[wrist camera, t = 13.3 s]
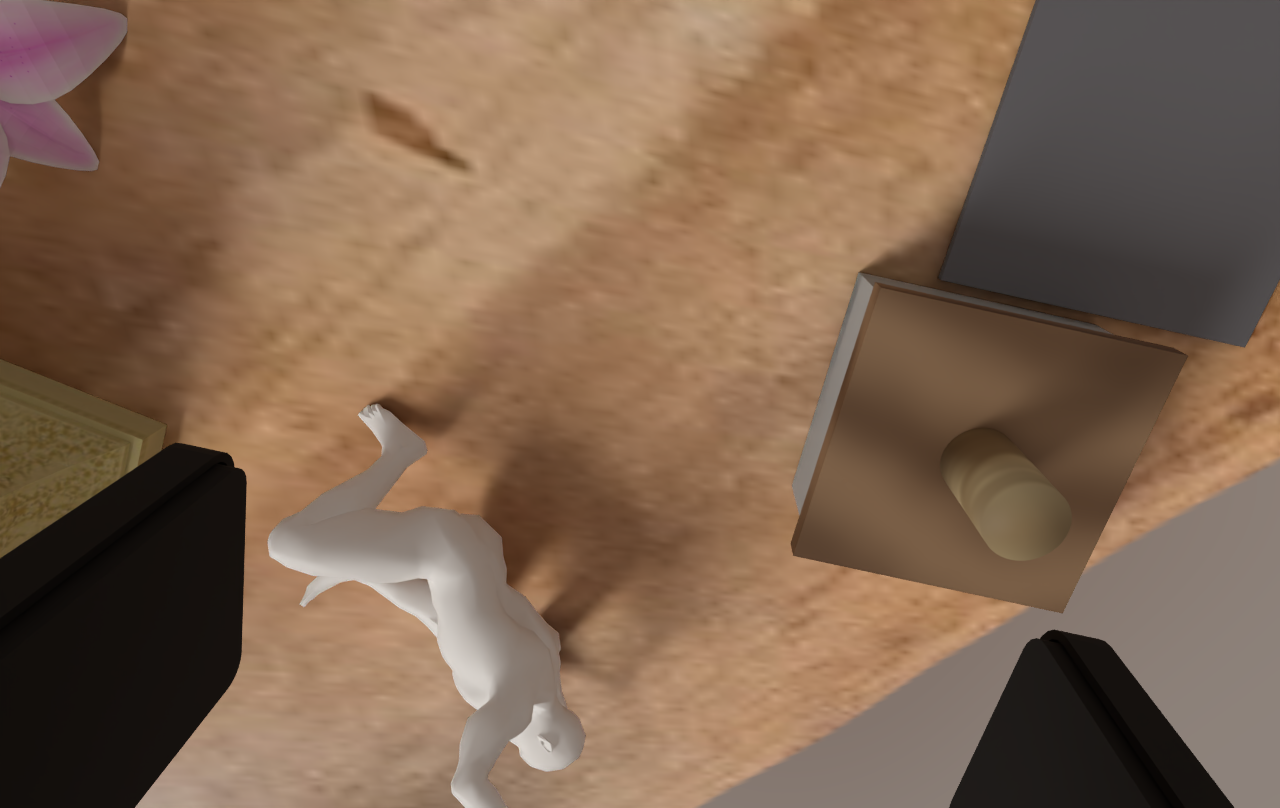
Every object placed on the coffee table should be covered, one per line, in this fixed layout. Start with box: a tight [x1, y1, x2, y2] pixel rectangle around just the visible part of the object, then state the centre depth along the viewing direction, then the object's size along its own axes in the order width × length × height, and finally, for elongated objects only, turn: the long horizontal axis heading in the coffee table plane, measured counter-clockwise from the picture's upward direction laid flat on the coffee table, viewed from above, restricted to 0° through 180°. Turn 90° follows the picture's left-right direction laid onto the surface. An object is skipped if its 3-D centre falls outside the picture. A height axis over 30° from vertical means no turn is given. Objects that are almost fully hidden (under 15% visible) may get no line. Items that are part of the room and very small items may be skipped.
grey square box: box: [792, 272, 1113, 515], centre depth 36 cm, size 11×11×5 cm
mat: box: [938, 0, 1280, 347], centre depth 33 cm, size 14×14×1 cm
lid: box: [791, 282, 1188, 613], centre depth 30 cm, size 12×12×6 cm
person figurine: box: [268, 404, 586, 808], centre depth 38 cm, size 13×13×18 cm
